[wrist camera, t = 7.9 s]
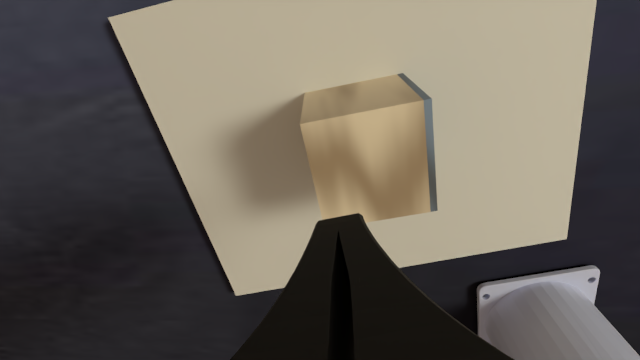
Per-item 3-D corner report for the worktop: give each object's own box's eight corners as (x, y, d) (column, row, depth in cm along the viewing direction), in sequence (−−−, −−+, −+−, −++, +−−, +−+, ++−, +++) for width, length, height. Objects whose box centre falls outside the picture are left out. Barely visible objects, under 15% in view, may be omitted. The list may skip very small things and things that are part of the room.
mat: (560, 233, 23) (566, 238, 22) (237, 289, 25) (236, 295, 24) (600, -112, 14) (610, -116, 14) (114, 17, 17) (108, 17, 16)
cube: (437, 210, 15) (324, 229, 16) (410, 162, 20) (323, 178, 20) (431, 98, 13) (299, 124, 13) (402, 72, 17) (304, 92, 18)
